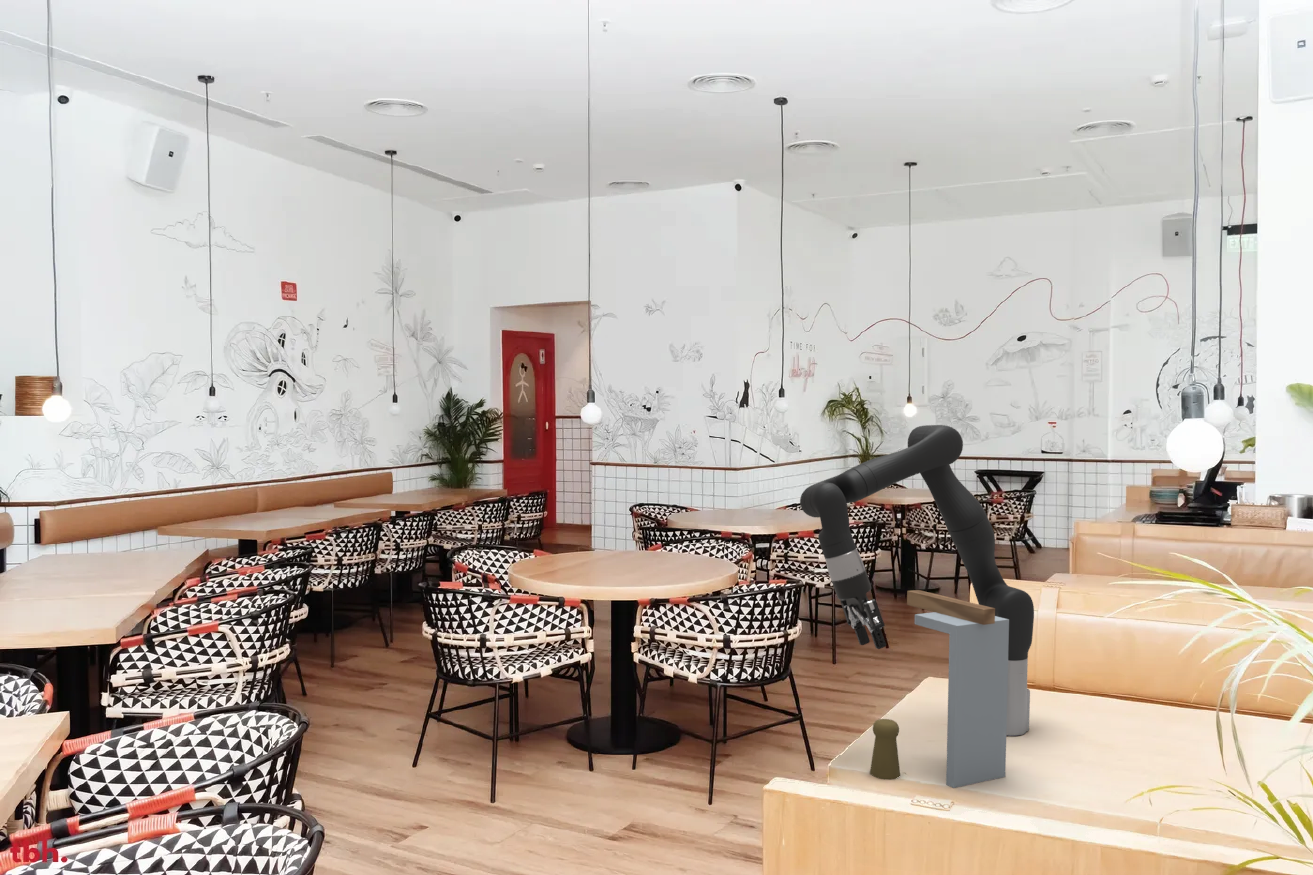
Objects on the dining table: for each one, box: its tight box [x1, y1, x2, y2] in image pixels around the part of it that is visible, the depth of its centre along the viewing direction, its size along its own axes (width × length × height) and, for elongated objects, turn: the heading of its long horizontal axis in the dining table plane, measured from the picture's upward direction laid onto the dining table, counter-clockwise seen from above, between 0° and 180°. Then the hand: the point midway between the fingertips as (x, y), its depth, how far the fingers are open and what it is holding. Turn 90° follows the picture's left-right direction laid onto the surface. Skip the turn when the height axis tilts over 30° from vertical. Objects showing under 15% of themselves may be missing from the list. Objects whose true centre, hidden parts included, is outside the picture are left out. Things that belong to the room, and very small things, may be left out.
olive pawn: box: [869, 718, 901, 780], centre depth 212 cm, size 6×6×11 cm
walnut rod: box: [906, 589, 995, 625], centre depth 216 cm, size 3×22×3 cm, turn 28°
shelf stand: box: [914, 611, 1009, 789], centre depth 213 cm, size 14×12×32 cm
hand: (873, 645), depth 222 cm, fingers open, 8 cm apart
